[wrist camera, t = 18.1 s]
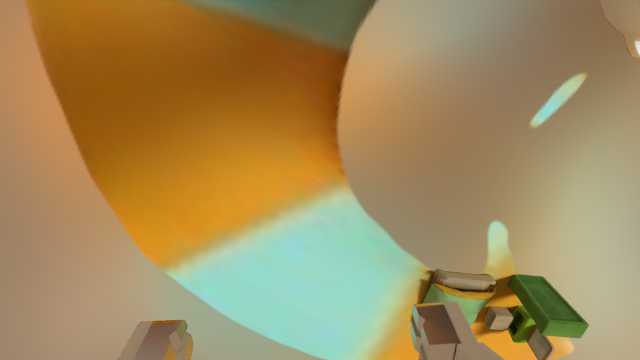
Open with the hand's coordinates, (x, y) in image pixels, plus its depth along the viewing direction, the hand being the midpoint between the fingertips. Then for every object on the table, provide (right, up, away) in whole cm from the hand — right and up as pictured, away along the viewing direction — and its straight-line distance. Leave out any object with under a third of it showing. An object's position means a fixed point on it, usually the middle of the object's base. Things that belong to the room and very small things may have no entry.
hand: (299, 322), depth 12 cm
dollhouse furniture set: (+28, -15, +44) cm, 54 cm away
